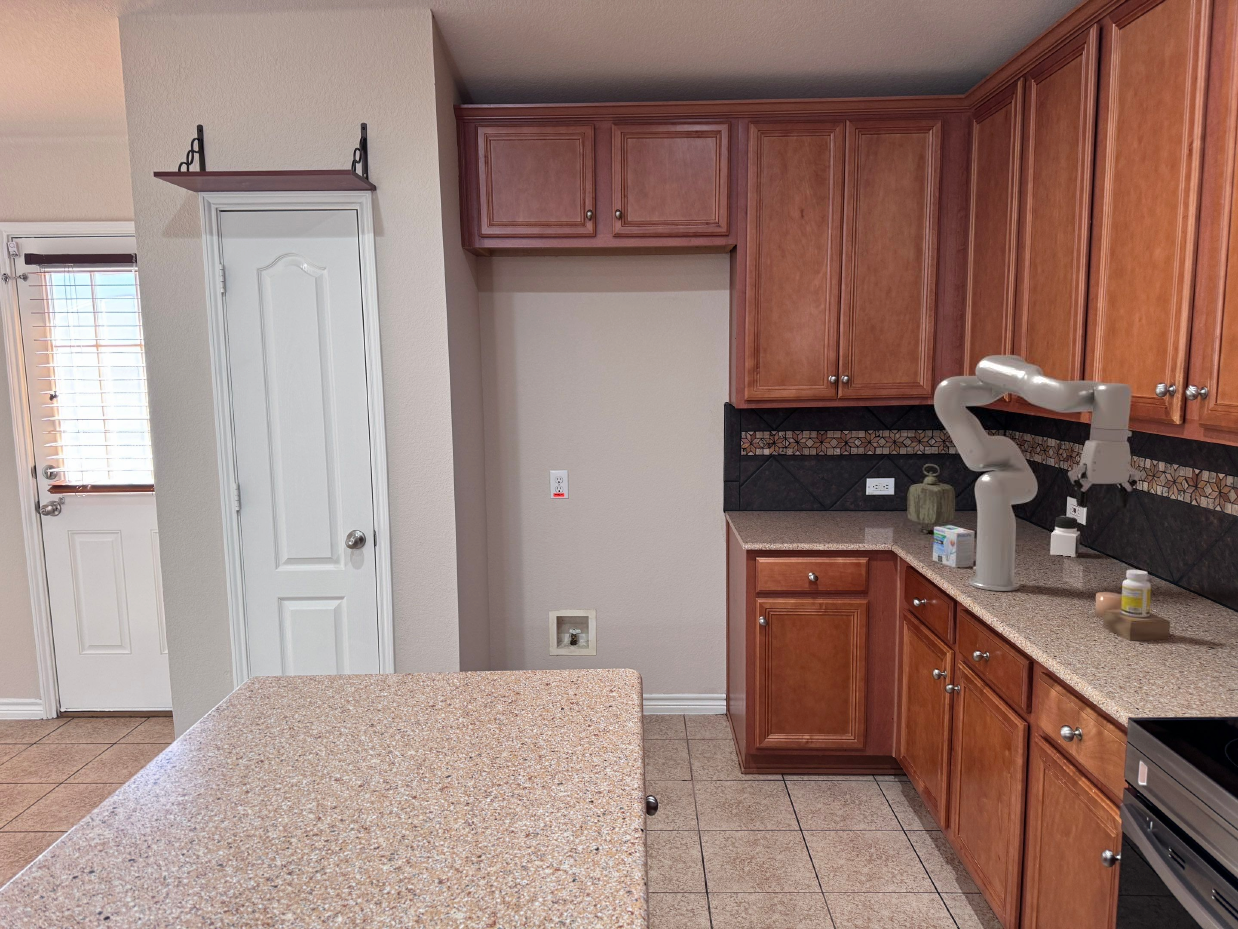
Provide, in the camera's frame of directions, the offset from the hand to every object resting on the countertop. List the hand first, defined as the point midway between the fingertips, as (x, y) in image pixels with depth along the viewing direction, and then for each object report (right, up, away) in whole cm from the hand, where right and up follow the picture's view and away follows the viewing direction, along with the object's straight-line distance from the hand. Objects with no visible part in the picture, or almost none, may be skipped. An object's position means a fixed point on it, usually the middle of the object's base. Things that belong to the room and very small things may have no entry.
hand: (1101, 506), depth 196 cm
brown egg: (+2, -26, +1) cm, 26 cm away
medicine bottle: (+26, -19, +64) cm, 71 cm away
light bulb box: (-13, -20, +54) cm, 60 cm away
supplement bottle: (0, -24, -13) cm, 27 cm away
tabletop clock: (-4, -15, +100) cm, 101 cm away
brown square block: (0, -28, -12) cm, 30 cm away
